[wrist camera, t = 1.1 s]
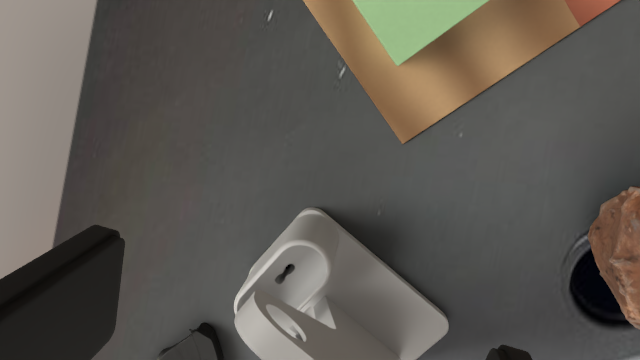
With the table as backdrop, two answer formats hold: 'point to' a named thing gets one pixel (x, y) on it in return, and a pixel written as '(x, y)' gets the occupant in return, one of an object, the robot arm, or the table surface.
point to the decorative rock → (620, 249)
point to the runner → (449, 54)
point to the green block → (412, 22)
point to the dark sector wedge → (195, 346)
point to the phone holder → (331, 300)
